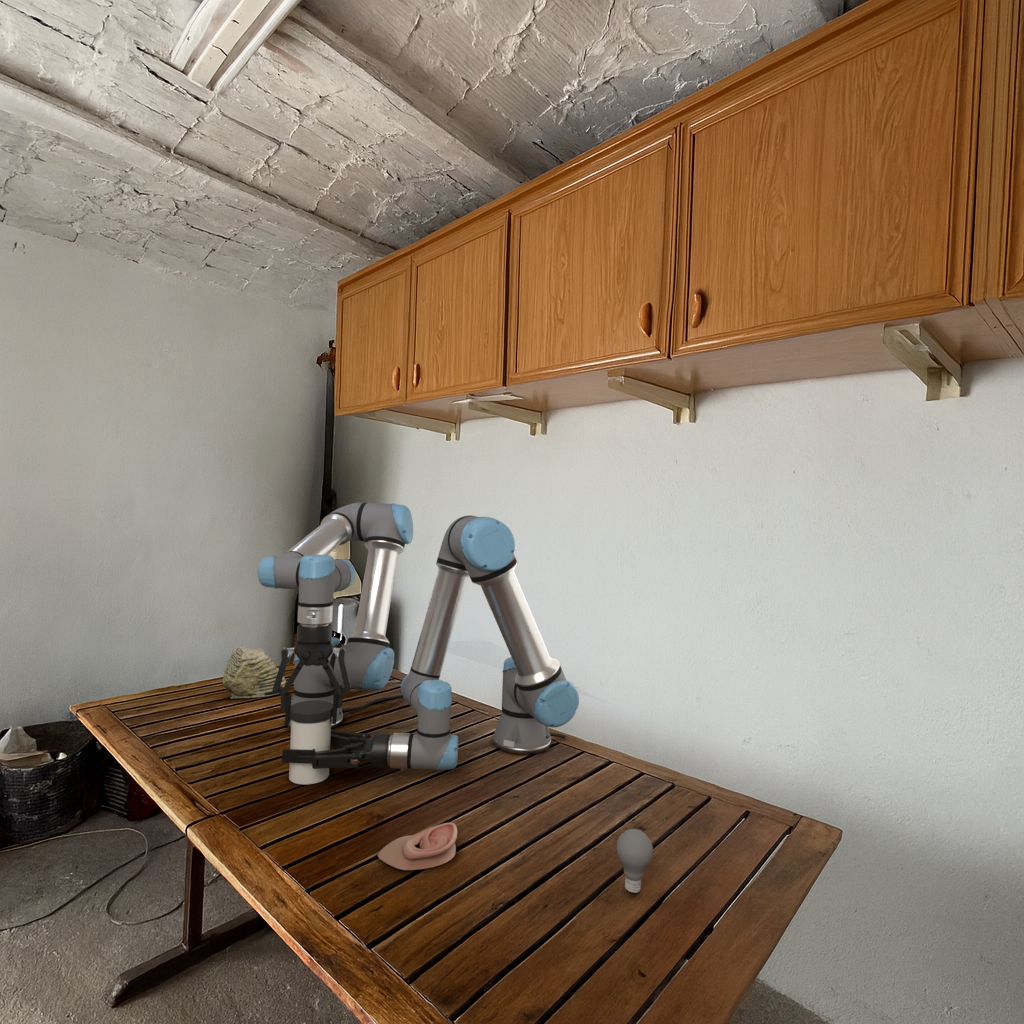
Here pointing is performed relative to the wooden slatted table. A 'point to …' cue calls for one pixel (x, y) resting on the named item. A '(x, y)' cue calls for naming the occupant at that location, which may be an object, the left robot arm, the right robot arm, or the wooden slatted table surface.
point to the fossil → (250, 674)
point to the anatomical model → (422, 848)
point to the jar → (308, 739)
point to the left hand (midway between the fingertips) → (311, 722)
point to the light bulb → (634, 857)
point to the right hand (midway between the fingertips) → (289, 747)
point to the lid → (311, 711)
